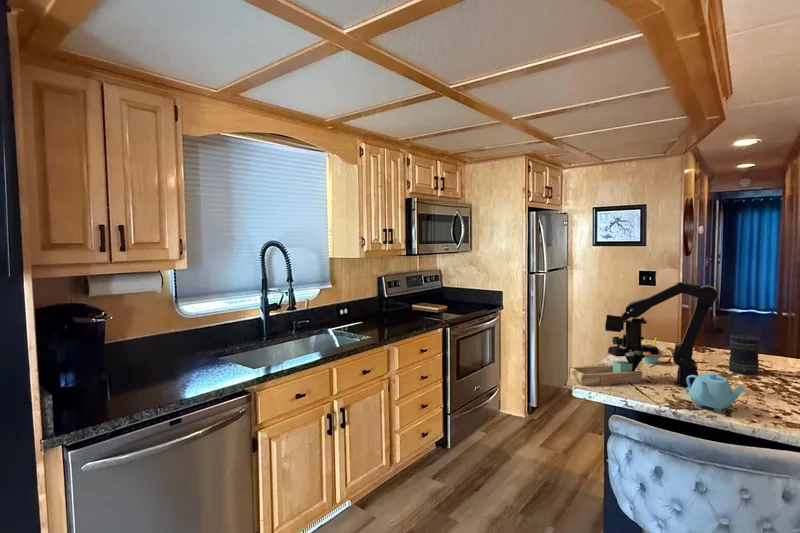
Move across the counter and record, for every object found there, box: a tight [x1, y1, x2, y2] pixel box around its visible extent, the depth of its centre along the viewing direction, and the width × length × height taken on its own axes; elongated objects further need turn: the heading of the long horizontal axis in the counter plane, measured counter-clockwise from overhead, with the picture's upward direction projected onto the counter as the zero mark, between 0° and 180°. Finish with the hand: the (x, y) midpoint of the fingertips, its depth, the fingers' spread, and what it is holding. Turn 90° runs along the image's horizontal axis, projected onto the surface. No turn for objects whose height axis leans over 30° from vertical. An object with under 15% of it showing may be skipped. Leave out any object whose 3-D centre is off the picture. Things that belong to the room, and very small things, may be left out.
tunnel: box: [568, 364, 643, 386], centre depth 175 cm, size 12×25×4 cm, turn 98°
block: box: [612, 360, 632, 372], centre depth 176 cm, size 5×5×5 cm
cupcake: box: [643, 337, 663, 365], centre depth 198 cm, size 9×8×12 cm
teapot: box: [684, 372, 746, 413], centre depth 146 cm, size 15×14×11 cm
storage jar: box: [728, 333, 761, 376], centre depth 183 cm, size 10×10×15 cm
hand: (632, 371), depth 177 cm, fingers closed
